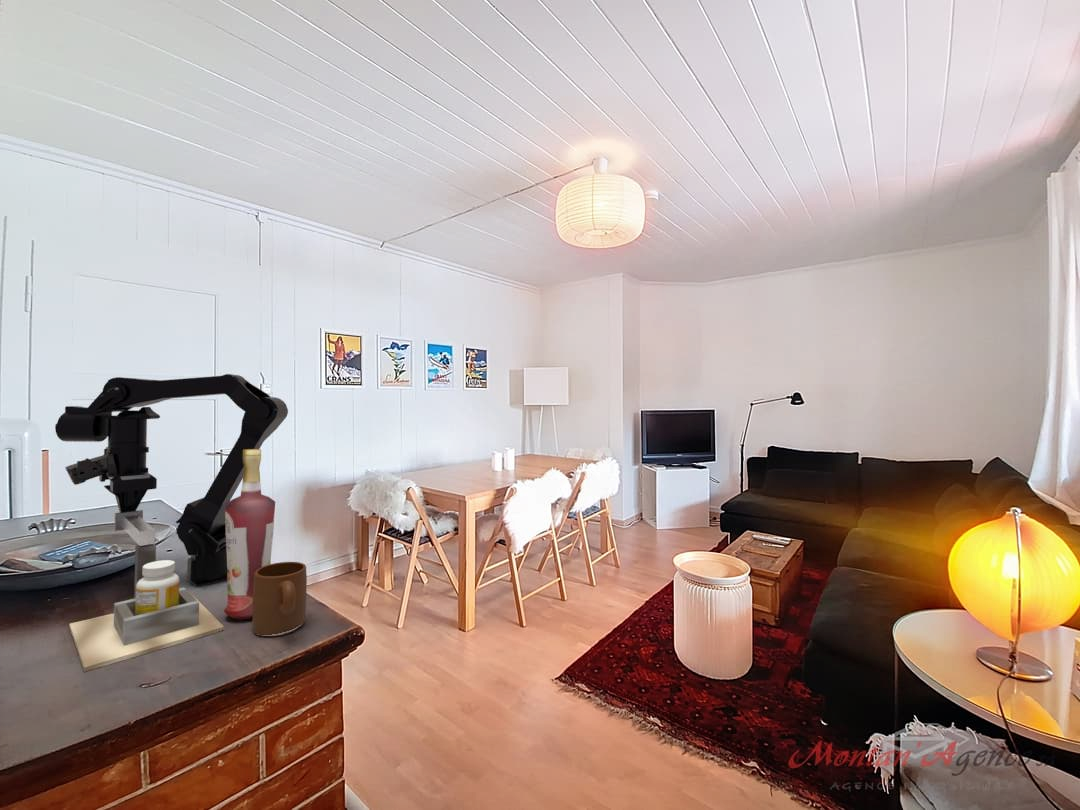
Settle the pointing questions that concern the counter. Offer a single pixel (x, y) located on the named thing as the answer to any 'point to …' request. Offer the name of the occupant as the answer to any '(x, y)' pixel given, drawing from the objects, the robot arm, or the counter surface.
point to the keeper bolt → (135, 527)
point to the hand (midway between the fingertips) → (126, 521)
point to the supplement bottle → (157, 587)
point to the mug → (279, 597)
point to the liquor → (247, 537)
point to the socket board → (140, 625)
